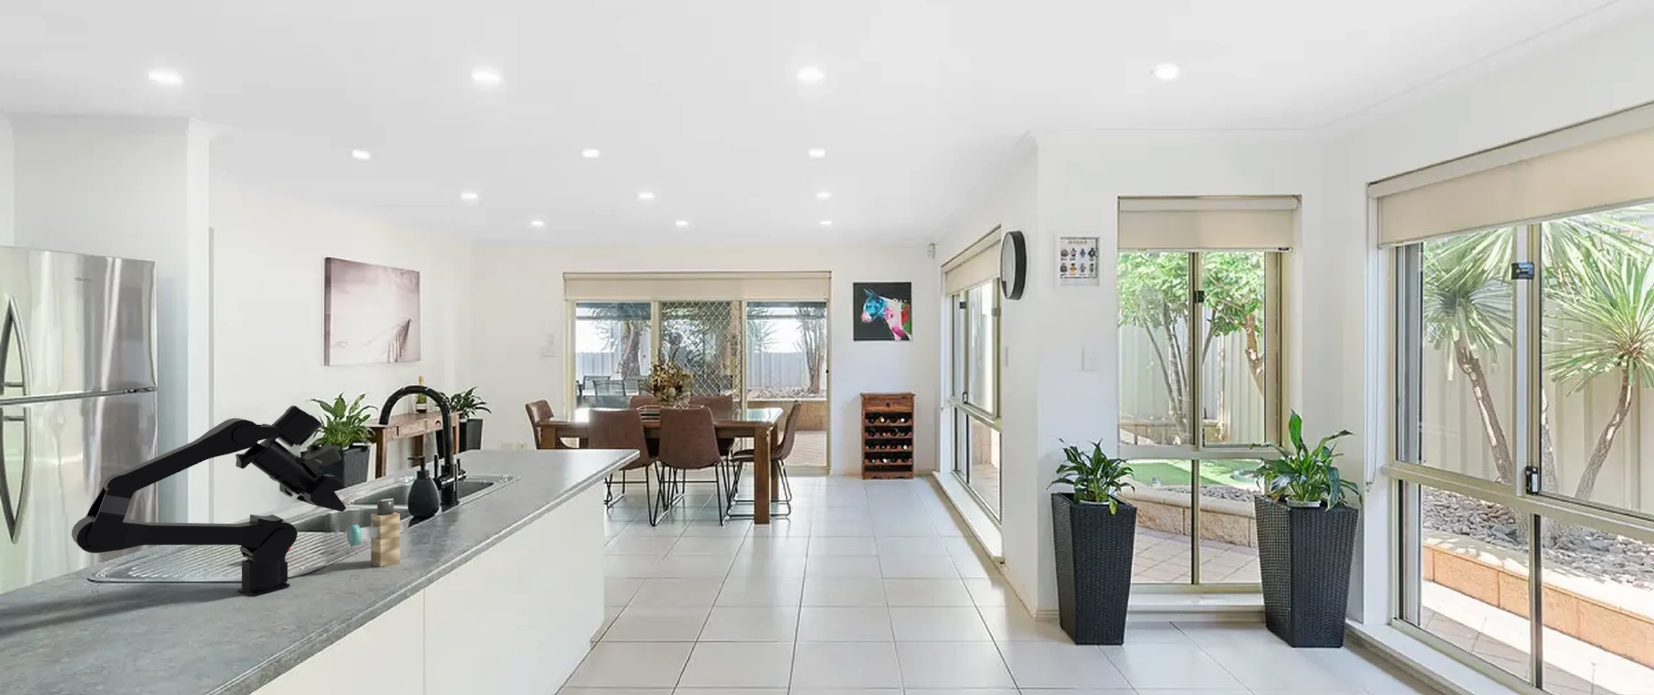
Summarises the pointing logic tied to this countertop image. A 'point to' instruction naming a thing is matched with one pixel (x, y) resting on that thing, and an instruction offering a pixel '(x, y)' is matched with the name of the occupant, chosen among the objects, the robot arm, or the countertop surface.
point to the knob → (361, 533)
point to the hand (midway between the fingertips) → (342, 509)
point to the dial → (385, 507)
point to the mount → (386, 540)
